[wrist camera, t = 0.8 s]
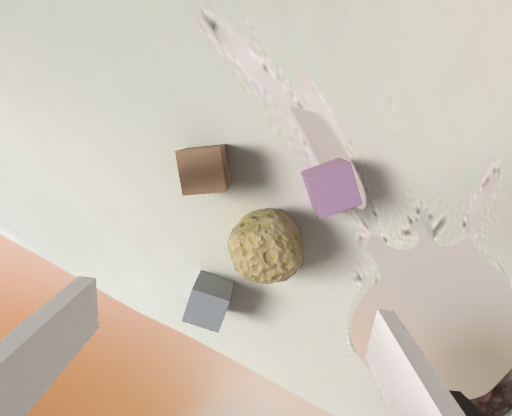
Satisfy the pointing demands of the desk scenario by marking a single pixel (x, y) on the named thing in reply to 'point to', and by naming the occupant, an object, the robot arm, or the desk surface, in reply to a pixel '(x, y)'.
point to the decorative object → (266, 246)
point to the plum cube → (331, 187)
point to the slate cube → (208, 301)
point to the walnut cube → (203, 169)
